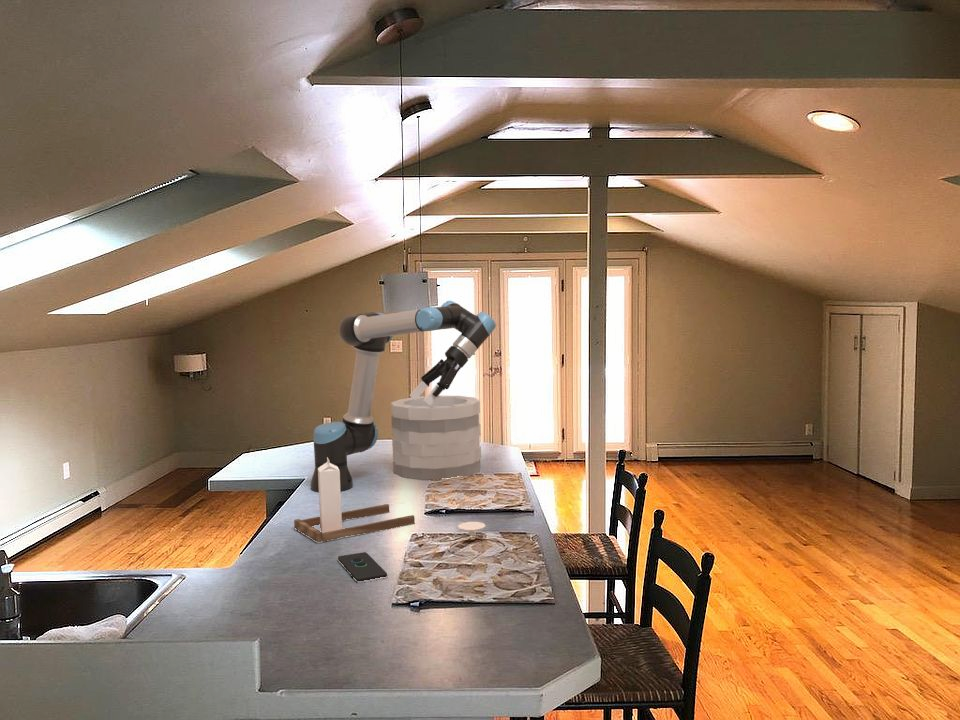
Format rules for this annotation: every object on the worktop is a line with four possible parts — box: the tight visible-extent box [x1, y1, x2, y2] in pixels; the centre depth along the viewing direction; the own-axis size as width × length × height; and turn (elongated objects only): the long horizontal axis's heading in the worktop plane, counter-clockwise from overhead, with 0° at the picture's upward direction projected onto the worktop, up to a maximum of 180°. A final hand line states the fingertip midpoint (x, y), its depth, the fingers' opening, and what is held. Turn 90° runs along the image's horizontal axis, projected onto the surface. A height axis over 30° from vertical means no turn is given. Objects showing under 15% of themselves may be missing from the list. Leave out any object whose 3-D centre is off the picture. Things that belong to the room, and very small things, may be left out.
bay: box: [293, 503, 416, 542], centre depth 262 cm, size 18×32×3 cm, turn 124°
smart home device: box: [337, 551, 388, 581], centre depth 224 cm, size 8×2×20 cm
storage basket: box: [390, 395, 482, 481], centre depth 337 cm, size 35×35×27 cm
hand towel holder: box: [457, 521, 501, 539], centre depth 240 cm, size 17×4×21 cm
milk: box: [318, 457, 343, 533], centre depth 257 cm, size 6×6×22 cm
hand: (419, 400), depth 280 cm, fingers open, 13 cm apart
